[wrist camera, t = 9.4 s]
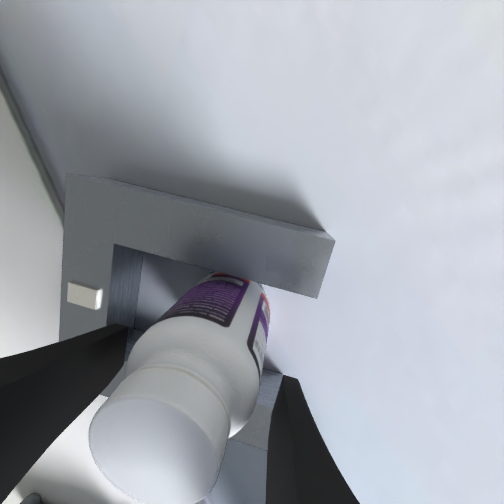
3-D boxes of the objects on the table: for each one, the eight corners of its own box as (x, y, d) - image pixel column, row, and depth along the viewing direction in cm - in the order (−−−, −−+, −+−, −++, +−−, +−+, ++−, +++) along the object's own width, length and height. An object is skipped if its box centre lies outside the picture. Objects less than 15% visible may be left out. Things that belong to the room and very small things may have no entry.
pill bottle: (176, 308, 17) (35, 444, 8) (225, 251, 16) (126, 333, 6) (235, 359, 17) (169, 555, 8) (288, 308, 16) (287, 471, 6)
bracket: (272, 409, 18) (268, 454, 14) (93, 351, 19) (54, 382, 16) (326, 232, 14) (336, 241, 11) (107, 178, 16) (62, 173, 13)
